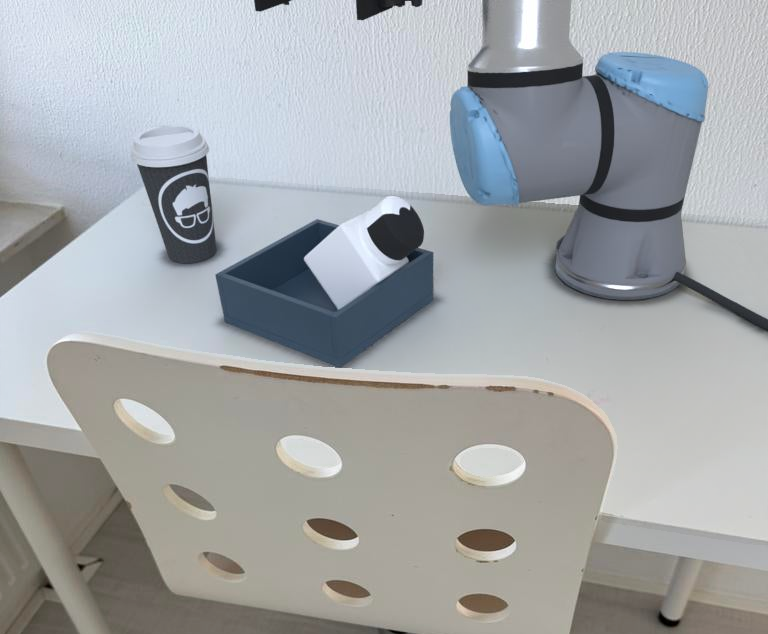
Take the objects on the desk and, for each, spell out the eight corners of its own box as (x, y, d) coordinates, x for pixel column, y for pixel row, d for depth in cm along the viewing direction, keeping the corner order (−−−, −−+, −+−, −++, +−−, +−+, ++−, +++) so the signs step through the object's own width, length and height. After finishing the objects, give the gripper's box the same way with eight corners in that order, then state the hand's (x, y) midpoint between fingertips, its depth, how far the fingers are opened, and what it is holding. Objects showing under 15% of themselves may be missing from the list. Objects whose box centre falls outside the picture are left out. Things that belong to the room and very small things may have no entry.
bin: (433, 299, 92) (433, 251, 88) (340, 367, 82) (335, 317, 78) (321, 264, 100) (316, 218, 96) (224, 322, 90) (214, 274, 86)
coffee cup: (235, 237, 107) (214, 121, 96) (218, 269, 100) (193, 148, 90) (169, 237, 108) (141, 122, 97) (147, 268, 101) (115, 149, 91)
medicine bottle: (370, 292, 92) (441, 238, 83) (338, 313, 87) (411, 257, 78) (335, 241, 90) (404, 180, 82) (301, 258, 85) (371, 196, 77)
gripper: (489, 7, 95) (406, 50, 82) (320, -5, 104) (222, 31, 91) (492, -68, 90) (405, -36, 77) (314, -74, 99) (210, -46, 86)
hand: (305, 1), depth 84 cm, fingers open, 13 cm apart
